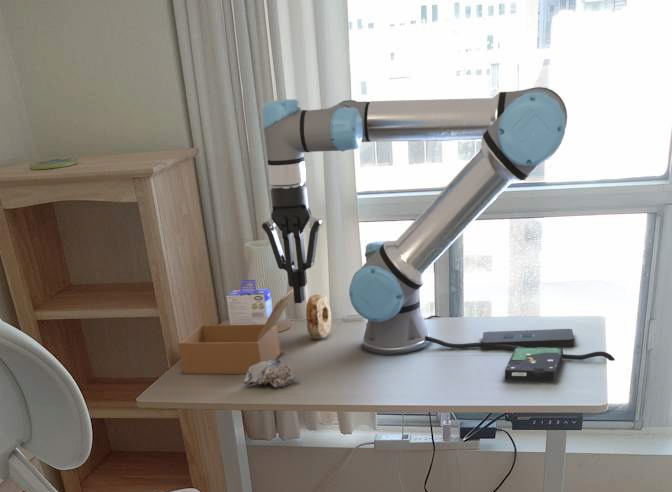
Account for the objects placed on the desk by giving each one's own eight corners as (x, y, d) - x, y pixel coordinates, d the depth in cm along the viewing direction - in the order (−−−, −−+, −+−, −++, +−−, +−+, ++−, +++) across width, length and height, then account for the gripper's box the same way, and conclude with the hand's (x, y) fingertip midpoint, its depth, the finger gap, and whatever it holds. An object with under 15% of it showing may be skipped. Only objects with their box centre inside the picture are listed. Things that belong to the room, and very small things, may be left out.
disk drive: (556, 384, 187) (562, 359, 198) (556, 370, 185) (563, 346, 197) (504, 383, 190) (514, 358, 201) (504, 369, 188) (514, 345, 200)
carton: (280, 353, 218) (277, 324, 215) (261, 373, 207) (257, 342, 203) (205, 353, 223) (201, 324, 219) (183, 373, 212) (178, 343, 208)
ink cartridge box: (277, 338, 229) (269, 277, 222) (271, 345, 225) (263, 283, 217) (238, 338, 231) (230, 279, 224) (232, 345, 227) (223, 285, 219)
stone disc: (320, 344, 222) (316, 301, 217) (306, 343, 223) (302, 301, 218) (335, 330, 230) (331, 289, 225) (321, 330, 231) (317, 289, 226)
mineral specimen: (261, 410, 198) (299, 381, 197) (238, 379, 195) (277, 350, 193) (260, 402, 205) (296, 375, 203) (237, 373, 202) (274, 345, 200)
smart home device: (483, 331, 214) (572, 327, 211) (483, 338, 215) (571, 335, 212) (482, 342, 207) (574, 338, 204) (482, 349, 208) (573, 346, 205)
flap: (276, 320, 214) (277, 321, 214) (257, 339, 203) (258, 340, 203) (294, 286, 209) (296, 287, 209) (276, 303, 198) (277, 304, 198)
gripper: (323, 180, 192) (332, 296, 205) (264, 183, 195) (276, 297, 208) (313, 187, 186) (323, 305, 199) (252, 189, 189) (266, 306, 202)
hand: (299, 301), depth 203 cm, fingers closed
